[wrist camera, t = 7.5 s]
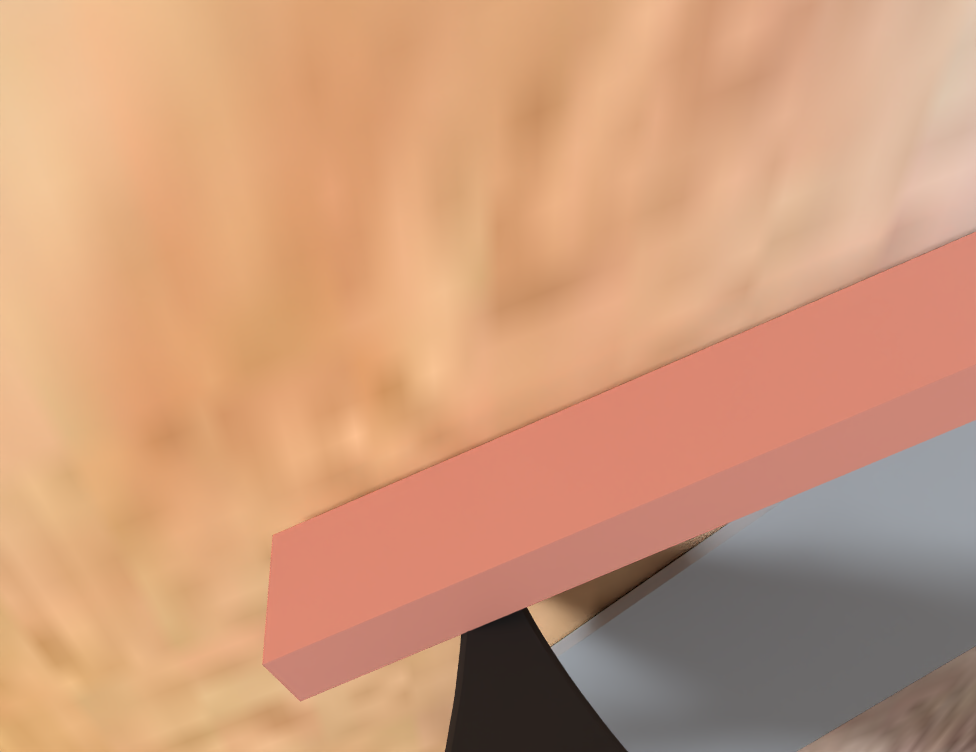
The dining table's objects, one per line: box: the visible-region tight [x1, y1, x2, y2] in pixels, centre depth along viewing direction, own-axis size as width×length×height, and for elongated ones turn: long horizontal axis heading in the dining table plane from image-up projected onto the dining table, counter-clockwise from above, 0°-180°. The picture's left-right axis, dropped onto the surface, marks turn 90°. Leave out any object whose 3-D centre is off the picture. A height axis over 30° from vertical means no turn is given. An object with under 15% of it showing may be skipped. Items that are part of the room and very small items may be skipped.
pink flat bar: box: [262, 232, 976, 701], centre depth 11 cm, size 1×14×3 cm, turn 112°
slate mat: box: [551, 420, 976, 752], centre depth 17 cm, size 12×9×1 cm
